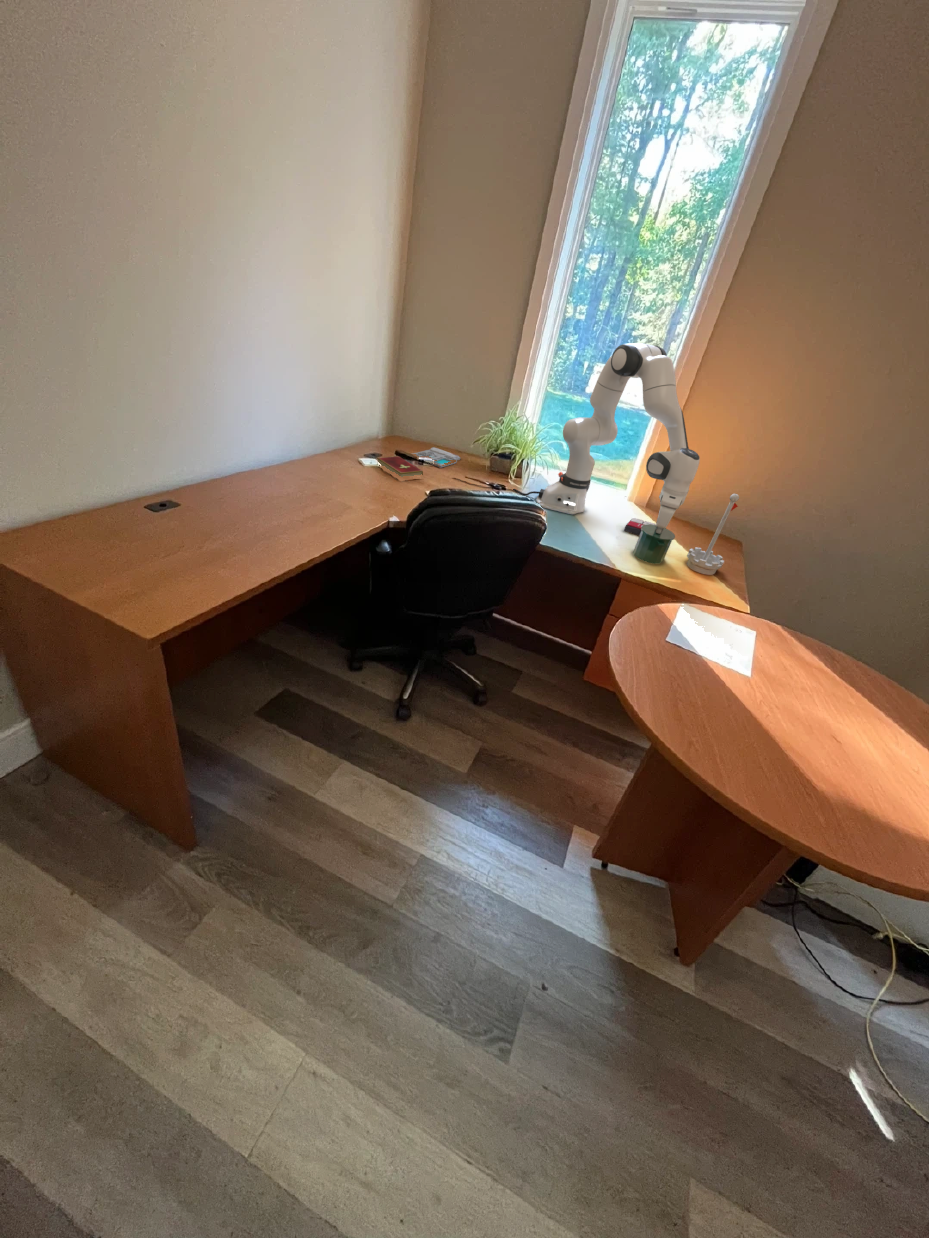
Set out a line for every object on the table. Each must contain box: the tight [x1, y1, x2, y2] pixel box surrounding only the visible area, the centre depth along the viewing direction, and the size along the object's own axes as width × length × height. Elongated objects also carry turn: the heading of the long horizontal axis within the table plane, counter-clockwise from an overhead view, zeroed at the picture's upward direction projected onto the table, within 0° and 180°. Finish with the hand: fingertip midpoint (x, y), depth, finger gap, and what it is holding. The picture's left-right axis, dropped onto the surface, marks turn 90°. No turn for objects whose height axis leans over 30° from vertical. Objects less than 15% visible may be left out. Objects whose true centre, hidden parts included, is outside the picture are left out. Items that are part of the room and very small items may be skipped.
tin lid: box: [641, 525, 676, 541], centre depth 184 cm, size 13×13×5 cm
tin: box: [632, 530, 673, 565], centre depth 188 cm, size 12×17×10 cm
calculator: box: [623, 517, 656, 537], centre depth 209 cm, size 11×4×15 cm
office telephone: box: [412, 446, 461, 469], centre depth 253 cm, size 23×3×20 cm
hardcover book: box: [376, 455, 424, 477], centre depth 228 cm, size 12×21×4 cm, turn 39°
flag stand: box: [686, 493, 740, 576], centre depth 182 cm, size 13×13×30 cm
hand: (658, 530), depth 184 cm, fingers closed on tin lid, 3 cm apart
